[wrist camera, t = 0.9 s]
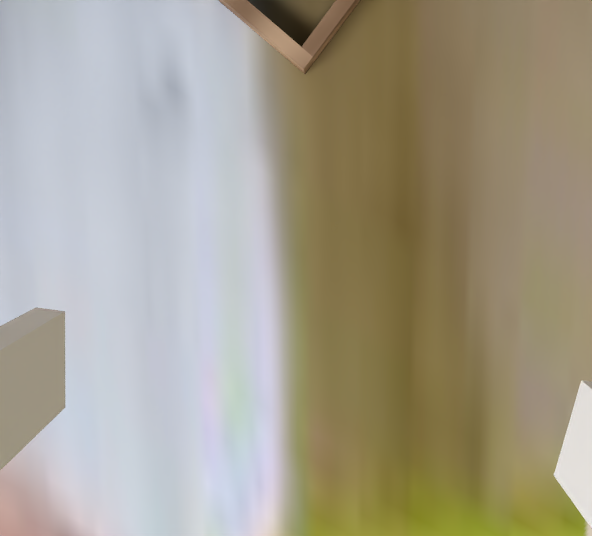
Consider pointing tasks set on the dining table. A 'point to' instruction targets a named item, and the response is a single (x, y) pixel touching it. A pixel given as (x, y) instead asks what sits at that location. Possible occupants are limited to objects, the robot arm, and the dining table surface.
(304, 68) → the frame
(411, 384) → the dining table surface
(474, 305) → the dining table surface
